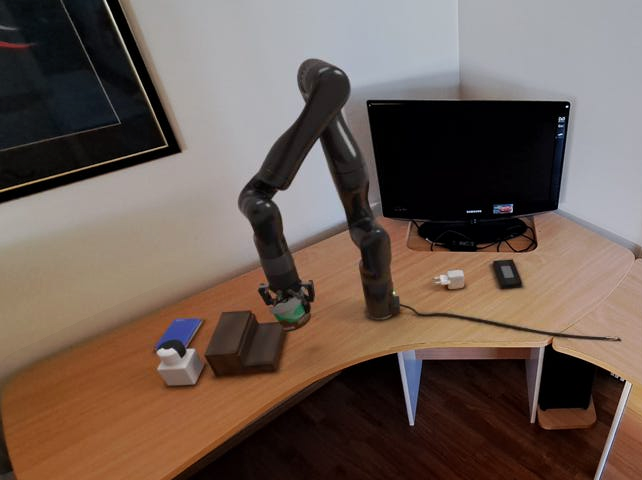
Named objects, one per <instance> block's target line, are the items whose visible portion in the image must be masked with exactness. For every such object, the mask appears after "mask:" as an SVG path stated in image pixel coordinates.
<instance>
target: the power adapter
mask: <svg viewBox="0 0 642 480" xmlns="http://www.w3.org/2000/svg"><path fill="white" fill-rule="evenodd" d="M433 280H439V281H433ZM431 281H432V285H439V284H440V286H447V288H448V289H449V290H456V289H457V290H458V289H462V288H464V287H465V273H464V271H463V270H462V269H454V270H448V271H447V272H446V274H439V275H438V276H437V277H435V276H434V277H431Z"/></svg>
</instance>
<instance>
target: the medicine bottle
mask: <svg viewBox="0 0 642 480" xmlns="http://www.w3.org/2000/svg"><path fill="white" fill-rule="evenodd" d="M155 352H156V355H157V356H158V358H159V359H160V363H159V365H158V366H157V368H156V370H157V372H158V373H159V375H160V376H161V378H162V379H163V381H164V382H165V384H166V385H167V386H169V387H170V386H171V387H172V386H191V385H192V386H193V385H195V384H196V383H197V381H198V379H199V377H200V376H201V373H202V372H203V369H204V367H205V364H204V362H203V360H202V358H201V356H200V354H199V353H198V351H197V349H196V348H187V347H186V348H185V346H184V345H183V343H182V342H181V341H180V340H169V341H166V342H164V343H162V344H161V345H160V346H159V347H158V349H157V351H155Z"/></svg>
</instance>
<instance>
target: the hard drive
mask: <svg viewBox="0 0 642 480" xmlns="http://www.w3.org/2000/svg"><path fill="white" fill-rule="evenodd" d="M202 323H204V321H203V319H202V318H174V320H173V321H172V322H171V324H170V325H169V326H168V328H167V330H166V331H165V332H164V334H163V335H162V337H160V340H159V341H158V343H157V344H156V345H155V347H154V348H153V349H154V350H155V352H156V351H157V349H158V347H159V346H160V345H161V344H162V343H164V342H166V341H169V340H180V341H181V342H182V343H183V345H184V346H185V348H186V349H187V348H188V346H189V344H190V343H191V341H192V339H193V338H194V337H195V335H196V333H198V332H197V331H198V330H199V328H200V327H201V325H202Z"/></svg>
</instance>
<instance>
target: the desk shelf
mask: <svg viewBox="0 0 642 480" xmlns="http://www.w3.org/2000/svg"><path fill="white" fill-rule="evenodd" d="M286 333H287V332H285V330H284V329H283V327H282V326H281V325H280V323H279V322H278V321H271V322H258V319H257V316H256V314H255V312H253V311H252V310H251V309H248V310H234V311H233V310H232V311H222V312H221V314H220V317H219V319H218V321H217V324H216V326H215V329H214V331H213V333H212V335H211V337H210V340H209V342H208V345H207V347H206V349H205V351H204V354H203V356H204V358H205V360H206V362H207V364H208V366H209V367H210V369H211V371H212V373H213V374H214V377H215V378H219V377H230V376H238V375H239V376H241V375H242V376H243V375H253V374H264V373H265V374H266V373H275V372H277V369H278V365H279V362H280V361H279V360H280V357H281V353H282V349H283V347H284V346H283V345H284V341H285V337H286Z"/></svg>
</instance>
